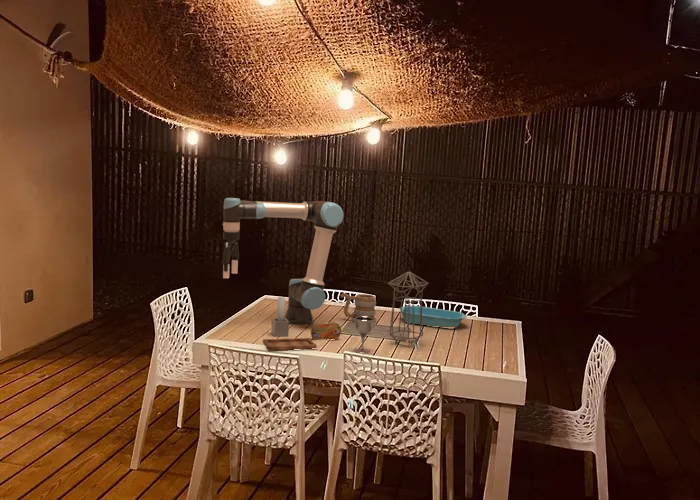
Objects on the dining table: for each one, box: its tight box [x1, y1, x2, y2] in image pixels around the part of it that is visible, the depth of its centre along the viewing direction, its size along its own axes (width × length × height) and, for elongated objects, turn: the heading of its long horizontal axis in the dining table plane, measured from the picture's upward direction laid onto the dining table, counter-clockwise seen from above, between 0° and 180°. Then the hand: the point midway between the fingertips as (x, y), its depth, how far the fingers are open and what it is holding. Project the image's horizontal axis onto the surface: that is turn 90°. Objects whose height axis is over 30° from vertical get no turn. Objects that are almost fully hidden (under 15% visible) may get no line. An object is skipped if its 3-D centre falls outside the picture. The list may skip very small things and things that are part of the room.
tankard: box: [340, 292, 377, 325], centre depth 356 cm, size 20×13×15 cm, turn 88°
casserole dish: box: [399, 305, 467, 328], centre depth 362 cm, size 37×22×7 cm, turn 71°
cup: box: [270, 317, 290, 338], centre depth 314 cm, size 7×7×8 cm
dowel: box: [276, 296, 286, 321], centre depth 314 cm, size 3×3×18 cm
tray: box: [262, 337, 318, 352], centre depth 298 cm, size 22×13×2 cm, turn 110°
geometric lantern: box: [387, 271, 430, 348], centre depth 314 cm, size 16×16×35 cm
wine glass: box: [354, 316, 374, 354], centre depth 298 cm, size 8×8×15 cm
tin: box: [310, 322, 342, 341], centre depth 313 cm, size 15×3×8 cm, turn 117°
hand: (230, 275), depth 313 cm, fingers open, 13 cm apart
